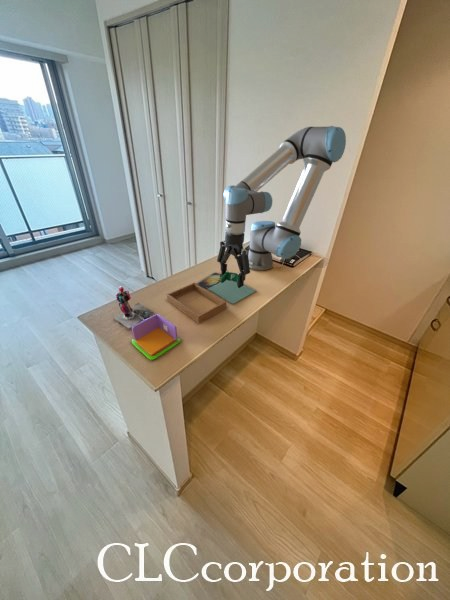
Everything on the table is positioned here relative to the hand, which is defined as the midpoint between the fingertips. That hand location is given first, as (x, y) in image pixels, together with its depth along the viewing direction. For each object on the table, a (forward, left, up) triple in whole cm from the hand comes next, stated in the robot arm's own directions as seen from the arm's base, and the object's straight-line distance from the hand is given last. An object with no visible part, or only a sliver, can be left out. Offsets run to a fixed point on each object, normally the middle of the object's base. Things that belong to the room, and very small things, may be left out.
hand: (231, 282), depth 104 cm
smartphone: (+1, -12, -5) cm, 13 cm away
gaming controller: (0, 0, 0) cm, 1 cm away
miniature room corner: (+42, +6, -5) cm, 43 cm away
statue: (+41, -11, -5) cm, 43 cm away
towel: (0, 0, -4) cm, 4 cm away
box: (+18, -2, -4) cm, 19 cm away
